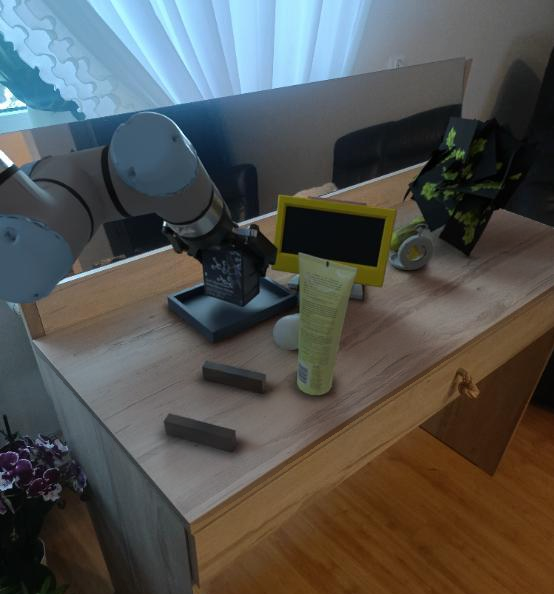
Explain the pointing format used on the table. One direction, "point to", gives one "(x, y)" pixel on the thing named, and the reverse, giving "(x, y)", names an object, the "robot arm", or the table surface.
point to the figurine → (287, 332)
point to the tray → (229, 309)
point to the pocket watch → (413, 252)
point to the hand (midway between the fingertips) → (237, 266)
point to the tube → (321, 320)
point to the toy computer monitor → (334, 237)
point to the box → (229, 276)
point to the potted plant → (467, 181)
